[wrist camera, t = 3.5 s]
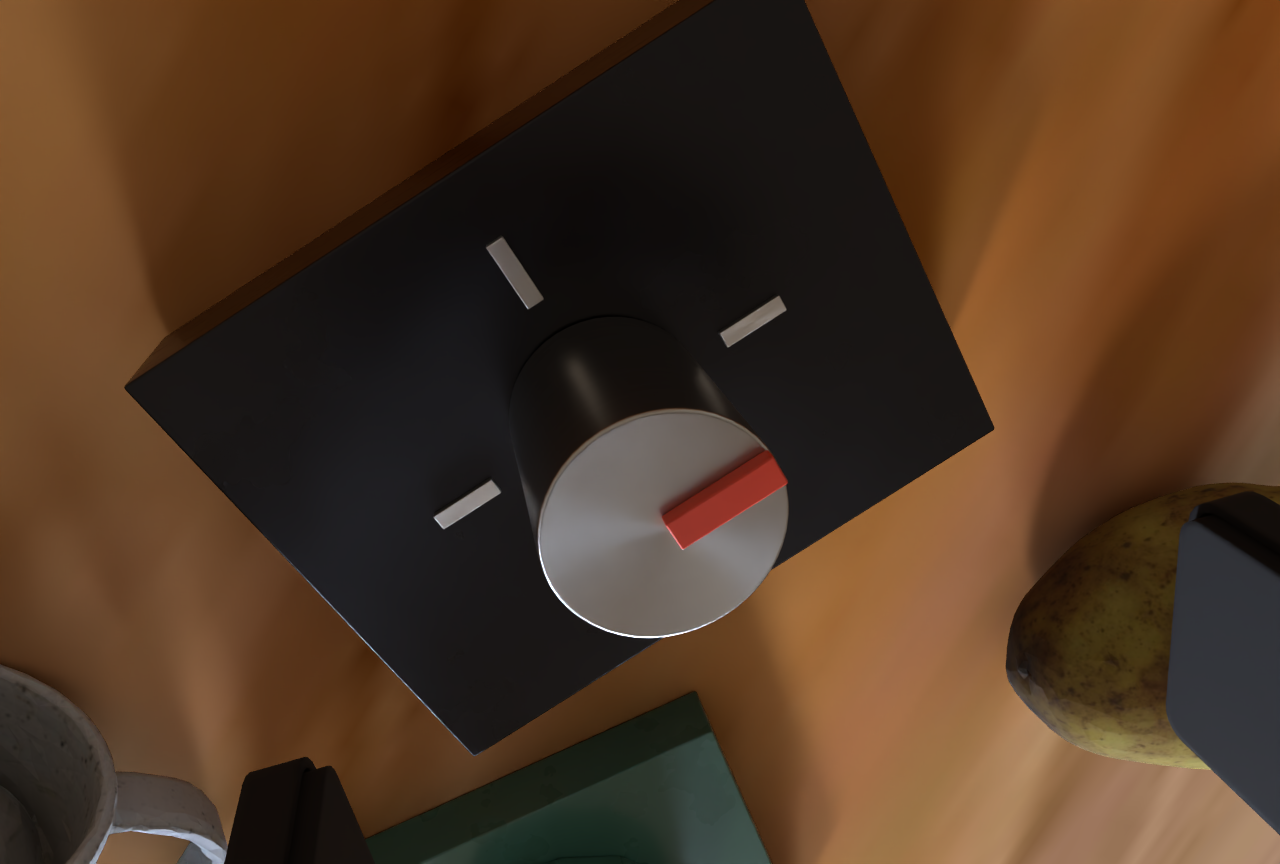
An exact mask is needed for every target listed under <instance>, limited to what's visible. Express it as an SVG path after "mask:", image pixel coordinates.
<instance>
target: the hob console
mask: <svg viewBox="0 0 1280 864" xmlns="http://www.w3.org/2000/svg"><path fill="white" fill-rule="evenodd" d="M602 317H626V318H634V319H638V320H641V321H645V322H648V323H650V324H653V325H655V326H657V327H659V328H661V329H663V330H664V331H666V332H668V333H669V334H671V335H672V336H673V337H674V338H676V339H677V340H678V341H679V342H680V343H681V344H682V345H683V346H684V347H685V348H686V349H687V351H688V352H689V353H690V354H691V355H692V357H693V358H694V359H695V360H696V361H697V363H698V364H699V365H700V366H701V367H702V369H703V370H704V371H705V372H706V373H707V375H708V376H709V377H710V378H711V379H712V381H713V382H714V383H715V384H716V385H717V387H718V388H719V389H720V390H721V391H722V393H723V394H724V395H725V396H726V397H727V399H728V400H729V401H730V402H731V403H732V405H733V406H734V407H735V408H736V409H737V411H738V412H739V413H740V414H741V415H742V417H743V418H744V419H745V420H746V422H747V423H748V424H749V425H750V426H751V428H752V429H753V430H754V431H755V432H756V434H757V435H758V436H759V437H760V438H761V440H762V441H763V442H764V443H765V444H766V446H767V447H768V448H769V450H770V451H771V453H772V454H773V455H774V457H775V458H776V460H777V462H778V464H779V466H780V468H781V470H782V472H783V473H784V475H785V477H786V479H787V480H788V483H787V484H786V487H787V493H788V501H789V516H788V524H787V531H786V535H785V538H784V542H783V545H782V548H781V550H780V553H779V555H778V558H777V560H776V561H775V563H774V565H773V567H772V569H773V568H775V567H777V566H778V565H780V564H781V563H783V562H785V561H786V560H788V559H789V558H791V557H793V556H794V555H796V554H797V553H799V552H800V551H802V550H804V549H805V548H807V547H808V546H810V545H812V544H813V543H815V542H816V541H818V540H820V539H821V538H823V537H824V536H826V535H827V534H829V533H831V532H832V531H834V530H835V529H837V528H839V527H840V526H842V525H843V524H845V523H847V522H848V521H850V520H851V519H853V518H854V517H856V516H858V515H859V514H861V513H862V512H864V511H866V510H867V509H869V508H870V507H872V506H874V505H875V504H877V503H878V502H880V501H881V500H883V499H885V498H886V497H888V496H889V495H891V494H893V493H894V492H896V491H897V490H899V489H901V488H902V487H904V486H905V485H907V484H908V483H910V482H912V481H913V480H915V479H916V478H918V477H920V476H921V475H923V474H924V473H926V472H928V471H929V470H931V469H932V468H934V467H935V466H937V465H939V464H940V463H942V462H943V461H945V460H947V459H948V458H950V457H951V456H953V455H955V454H956V453H958V452H959V451H961V450H962V449H964V448H966V447H967V446H969V445H970V444H972V443H974V442H975V441H977V440H978V439H980V438H982V437H983V436H985V435H986V434H988V433H989V432H991V431H993V430H994V426H993V423H992V421H991V419H990V417H989V414H988V412H987V410H986V408H985V405H984V403H983V401H982V399H981V396H980V394H979V392H978V390H977V387H976V385H975V383H974V381H973V378H972V376H971V374H970V372H969V369H968V367H967V365H966V363H965V360H964V358H963V356H962V354H961V351H960V349H959V347H958V345H957V342H956V340H955V338H954V336H953V333H952V331H951V329H950V327H949V324H948V322H947V320H946V318H945V315H944V313H943V311H942V309H941V306H940V304H939V302H938V300H937V297H936V295H935V293H934V291H933V288H932V286H931V284H930V282H929V279H928V277H927V275H926V273H925V270H924V268H923V266H922V264H921V261H920V259H919V257H918V255H917V252H916V250H915V248H914V246H913V244H912V241H911V239H910V237H909V235H908V232H907V230H906V228H905V226H904V223H903V221H902V219H901V217H900V214H899V212H898V210H897V208H896V205H895V203H894V201H893V199H892V196H891V194H890V192H889V190H888V187H887V185H886V183H885V181H884V178H883V176H882V174H881V172H880V169H879V167H878V165H877V163H876V160H875V158H874V156H873V154H872V151H871V149H870V147H869V145H868V142H867V140H866V138H865V136H864V133H863V131H862V129H861V127H860V124H859V122H858V120H857V118H856V115H855V113H854V111H853V109H852V106H851V104H850V102H849V100H848V97H847V95H846V93H845V91H844V88H843V86H842V84H841V82H840V79H839V77H838V75H837V73H836V70H835V68H834V66H833V64H832V61H831V59H830V57H829V55H828V52H827V50H826V48H825V46H824V43H823V41H822V39H821V37H820V34H819V32H818V30H817V28H816V25H815V23H814V21H813V19H812V16H811V14H810V12H809V10H808V8H807V5H806V3H805V1H804V0H679V1H678V2H676V3H674V4H673V5H671V6H670V7H668V8H667V9H665V10H664V11H662V12H661V13H659V14H658V15H656V16H655V17H653V18H652V19H650V20H649V21H647V22H645V23H644V24H642V25H641V26H639V27H638V28H636V29H635V30H633V31H632V32H630V33H629V34H627V35H626V36H624V37H623V38H621V39H620V40H618V41H616V42H615V43H613V44H612V45H610V46H609V47H607V48H606V49H604V50H603V51H601V52H600V53H598V54H597V55H595V56H594V57H592V58H591V59H589V60H587V61H586V62H584V63H583V64H581V65H580V66H578V67H577V68H575V69H574V70H572V71H571V72H569V73H568V74H566V75H565V76H563V77H562V78H560V79H559V80H557V81H555V82H554V83H552V84H551V85H549V86H548V87H546V88H545V89H543V90H542V91H540V92H539V93H537V94H536V95H534V96H533V97H531V98H530V99H528V100H526V101H525V102H523V103H522V104H520V105H519V106H517V107H516V108H514V109H513V110H511V111H510V112H508V113H507V114H505V115H504V116H502V117H501V118H499V119H497V120H496V121H494V122H493V123H491V124H490V125H488V126H487V127H485V128H484V129H482V130H481V131H479V132H478V133H476V134H475V135H473V136H472V137H470V138H468V139H467V140H465V141H464V142H462V143H461V144H459V145H458V146H456V147H455V148H453V149H452V150H450V151H449V152H447V153H446V154H444V155H443V156H441V157H440V158H438V159H436V160H435V161H433V162H432V163H430V164H429V165H427V166H426V167H424V168H423V169H421V170H420V171H418V172H417V173H415V174H414V175H412V176H411V177H409V178H407V179H406V180H404V181H403V182H401V183H400V184H398V185H397V186H395V187H394V188H392V189H391V190H389V191H388V192H386V193H385V194H383V195H382V196H380V197H378V198H377V199H375V200H374V201H372V202H371V203H369V204H368V205H366V206H365V207H363V208H362V209H360V210H359V211H357V212H356V213H354V214H353V215H351V216H349V217H348V218H346V219H345V220H343V221H342V222H340V223H339V224H337V225H336V226H334V227H333V228H331V229H330V230H328V231H327V232H325V233H324V234H322V235H321V236H319V237H317V238H316V239H314V240H313V241H311V242H310V243H308V244H307V245H305V246H304V247H302V248H301V249H299V250H298V251H296V252H295V253H293V254H292V255H290V256H288V257H287V258H285V259H284V260H282V261H281V262H279V263H278V264H276V265H275V266H273V267H272V268H270V269H269V270H267V271H266V272H264V273H263V274H261V275H259V276H258V277H256V278H255V279H253V280H252V281H250V282H249V283H247V284H246V285H244V286H243V287H241V288H240V289H238V290H237V291H235V292H234V293H232V294H230V295H229V296H227V297H226V298H224V299H223V300H221V301H220V302H218V303H217V304H215V305H214V306H212V307H211V308H209V309H208V310H206V311H205V312H203V313H202V314H200V315H198V316H197V317H195V318H194V319H192V320H191V321H189V322H188V323H186V324H185V325H183V326H182V327H180V328H179V329H177V330H176V331H174V332H173V333H171V334H169V335H168V336H166V337H165V338H164V339H163V340H162V341H161V342H160V344H159V345H158V346H157V347H156V349H155V350H154V351H153V352H152V353H151V355H150V356H149V357H148V358H147V359H146V361H145V362H144V363H143V364H142V366H141V367H140V368H139V369H138V370H137V372H136V373H135V374H134V375H133V376H132V378H131V379H130V380H129V381H128V383H127V384H126V385H125V387H124V388H125V390H126V391H127V392H128V393H129V394H130V395H131V396H132V397H133V398H134V399H135V400H136V401H137V403H138V404H139V405H140V406H141V407H142V408H143V409H144V410H145V411H146V412H147V413H148V414H149V415H150V416H151V417H152V418H153V419H154V420H155V421H156V423H157V424H158V425H159V426H160V427H161V428H162V429H163V430H164V431H165V432H166V433H167V434H168V435H169V436H170V437H171V438H172V439H173V440H174V441H175V443H176V444H177V445H178V446H179V447H180V448H181V449H182V450H183V451H184V452H185V453H186V454H187V455H188V456H189V457H190V458H191V459H192V460H193V461H194V463H195V464H196V465H197V466H198V467H199V468H200V469H201V470H202V471H203V472H204V473H205V474H206V475H207V476H208V477H209V478H210V479H211V480H212V481H213V483H214V484H215V485H216V486H217V487H218V488H219V489H220V490H221V491H222V492H223V493H224V494H225V495H226V496H227V497H228V498H229V499H230V500H231V502H232V503H233V504H234V505H235V506H236V507H237V508H238V509H239V510H240V511H241V512H242V513H243V514H244V515H245V516H246V517H247V518H248V519H249V520H250V522H251V523H252V524H253V525H254V526H255V527H256V528H257V529H258V530H259V531H260V532H261V533H262V534H263V535H264V536H265V537H266V538H267V539H268V540H269V542H270V543H271V544H272V545H273V546H274V547H275V548H276V549H277V550H278V551H279V552H280V553H281V554H282V555H283V556H284V557H285V558H286V559H287V560H288V562H289V563H290V564H291V565H292V566H293V567H294V568H295V569H296V570H297V571H298V572H299V573H300V574H301V575H302V576H303V577H304V578H305V579H306V580H307V582H308V583H309V584H310V585H311V586H312V587H313V588H314V589H315V590H316V591H317V592H318V593H319V594H320V595H321V596H322V597H323V598H324V599H325V600H326V602H327V603H328V604H329V605H330V606H331V607H332V608H333V609H334V610H335V611H336V612H337V613H338V614H339V615H340V616H341V617H342V618H343V619H344V620H345V622H346V623H347V624H348V625H349V626H350V627H351V628H352V629H353V630H354V631H355V632H356V633H357V634H358V635H359V636H360V637H361V638H362V639H363V641H364V642H365V643H366V644H367V645H368V646H369V647H370V648H371V649H372V650H373V651H374V652H375V653H376V654H377V655H378V656H379V657H380V658H381V659H382V661H383V662H384V663H385V664H386V665H387V666H388V667H389V668H390V669H391V670H392V671H393V672H394V673H395V674H396V675H397V676H398V677H399V678H400V679H401V681H402V682H403V683H404V684H405V685H406V686H407V687H408V688H409V689H410V690H411V691H412V692H413V693H414V694H415V695H416V696H417V697H418V698H419V699H420V701H421V702H422V703H423V704H424V705H425V706H426V707H427V708H428V709H429V710H430V711H431V712H432V713H433V714H434V715H435V716H436V717H437V718H438V719H439V721H440V722H441V723H442V724H443V725H444V726H445V727H446V728H447V729H448V730H449V731H450V732H451V733H452V734H453V735H454V736H455V737H456V738H457V739H458V741H459V742H460V743H461V744H462V745H463V746H464V747H465V748H466V749H467V750H468V751H469V752H470V753H471V754H472V755H473V756H476V755H478V754H480V753H481V752H483V751H484V750H486V749H488V748H489V747H491V746H492V745H494V744H496V743H497V742H499V741H500V740H502V739H503V738H505V737H507V736H508V735H510V734H511V733H513V732H515V731H516V730H518V729H519V728H521V727H523V726H524V725H526V724H527V723H529V722H530V721H532V720H534V719H535V718H537V717H538V716H540V715H542V714H543V713H545V712H546V711H548V710H550V709H551V708H553V707H554V706H556V705H557V704H559V703H561V702H562V701H564V700H565V699H567V698H569V697H570V696H572V695H573V694H575V693H577V692H578V691H580V690H581V689H583V688H584V687H586V686H588V685H589V684H591V683H592V682H594V681H596V680H597V679H599V678H600V677H602V676H604V675H605V674H607V673H608V672H610V671H611V670H613V669H615V668H616V667H618V666H619V665H621V664H623V663H624V662H626V661H627V660H629V659H631V658H632V657H634V656H635V655H637V654H638V653H640V652H642V651H643V650H645V649H646V648H648V647H650V646H651V645H653V644H654V643H656V642H658V641H659V640H661V639H662V638H664V637H658V638H636V637H629V636H623V635H618V634H615V633H611V632H608V631H605V630H602V629H600V628H598V627H595V626H593V625H591V624H589V623H588V622H586V621H584V620H583V619H581V618H580V617H578V616H577V615H576V614H574V613H573V612H572V611H571V610H569V609H568V608H567V607H566V606H565V605H564V604H563V603H562V602H561V601H560V599H559V598H558V597H557V596H556V594H555V593H554V591H553V590H552V589H551V587H550V586H549V584H548V582H547V580H546V577H545V575H544V573H543V571H542V567H541V564H540V561H539V557H538V553H537V548H536V544H535V539H534V535H533V531H532V526H531V522H530V517H529V513H528V508H527V504H526V499H525V495H524V491H523V486H522V482H521V477H520V473H519V468H518V464H517V460H516V455H515V451H514V446H513V442H512V437H511V432H510V425H509V407H510V400H511V395H512V392H513V388H514V385H515V383H516V380H517V378H518V376H519V374H520V372H521V370H522V369H523V367H524V365H525V364H526V362H527V361H528V360H529V358H530V357H531V356H532V355H533V353H534V352H535V351H536V350H537V349H538V348H539V347H540V346H541V345H542V344H543V343H544V342H546V341H547V340H548V339H550V338H551V337H552V336H554V335H555V334H557V333H558V332H560V331H562V330H564V329H566V328H567V327H570V326H572V325H575V324H577V323H579V322H583V321H586V320H590V319H594V318H602ZM772 569H771V570H772Z"/></svg>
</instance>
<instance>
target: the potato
mask: <svg viewBox="0 0 1280 864" xmlns="http://www.w3.org/2000/svg"><path fill="white" fill-rule="evenodd" d="M1244 491H1253V492H1256V493H1259V494H1261V495H1264V496H1265V497H1267V498H1269V499H1271V500H1272V501H1274V502H1276V503H1278V504H1279V505H1280V486H1265V485H1256V484H1247V483H1217V484H1207V485H1201V486H1196V487H1192V488H1188V489H1185V490H1181V491H1178V492H1175V493H1171V494H1168V495H1165V496H1161V497H1159V498H1156V499H1153V500H1151V501H1148V502H1146V503H1143V504H1140V505H1138V506H1135V507H1133V508H1131V509H1128V510H1126V511H1124V512H1122V513H1120V514H1118V515H1116V516H1115V517H1113V518H1111V519H1110V520H1108V521H1107V522H1105V523H1104V524H1102V525H1101V526H1099V527H1098V528H1096V529H1095V530H1093V531H1092V532H1090V533H1089V534H1087V535H1086V536H1084V537H1083V538H1081V539H1080V540H1079V541H1078V542H1077V543H1076V544H1075V545H1073V546H1072V547H1071V548H1070V549H1069V550H1068V551H1067V552H1066V553H1065V554H1064V555H1063V556H1062V557H1061V558H1060V559H1059V560H1058V561H1057V562H1056V563H1055V564H1054V565H1053V566H1052V567H1051V568H1050V569H1049V570H1048V571H1047V572H1046V573H1045V574H1044V575H1043V576H1042V578H1041V579H1040V580H1039V581H1038V582H1037V583H1036V584H1035V585H1034V586H1033V588H1032V589H1031V590H1030V591H1029V592H1028V593H1027V594H1026V595H1025V597H1024V598H1023V600H1022V601H1021V603H1020V605H1019V607H1018V609H1017V611H1016V613H1015V615H1014V618H1013V621H1012V625H1011V628H1010V633H1009V639H1008V645H1007V658H1006V671H1007V677H1008V680H1009V682H1010V684H1011V686H1012V687H1013V689H1014V691H1015V692H1016V693H1017V695H1018V696H1019V697H1020V698H1021V699H1022V701H1023V702H1024V703H1025V704H1026V705H1027V706H1028V708H1029V709H1030V710H1031V711H1033V712H1034V713H1035V714H1036V715H1037V716H1038V717H1039V718H1040V719H1041V720H1042V721H1043V722H1044V723H1045V724H1046V725H1047V726H1048V727H1049V728H1050V729H1051V730H1053V731H1054V732H1055V733H1057V734H1058V735H1059V736H1061V737H1062V738H1063V739H1064V740H1066V741H1068V742H1070V743H1071V744H1073V745H1075V746H1078V747H1080V748H1082V749H1084V750H1087V751H1090V752H1093V753H1096V754H1099V755H1102V756H1106V757H1110V758H1115V759H1122V760H1129V761H1135V762H1142V763H1148V764H1156V765H1164V766H1173V767H1181V768H1192V769H1210V768H1209V767H1208V766H1207V765H1206V764H1205V763H1204V762H1203V761H1202V760H1201V759H1200V758H1199V757H1198V756H1197V755H1196V754H1195V753H1194V752H1193V751H1191V750H1190V749H1189V748H1188V747H1187V746H1186V745H1185V744H1184V743H1183V742H1182V741H1181V740H1180V739H1179V737H1178V736H1177V735H1176V733H1175V732H1174V730H1173V729H1172V727H1171V725H1170V722H1169V720H1168V717H1167V713H1166V695H1167V683H1168V670H1169V658H1170V645H1171V633H1172V620H1173V608H1174V595H1175V583H1176V571H1177V558H1178V546H1179V534H1180V530H1181V527H1182V526H1183V525H1184V523H1186V522H1188V520H1189V516H1190V513H1191V512H1192V510H1193V509H1194V507H1196V506H1198V505H1200V504H1202V503H1205V502H1209V501H1212V500H1216V499H1220V498H1223V497H1227V496H1230V495H1234V494H1237V493H1241V492H1244ZM1210 770H1211V769H1210Z"/></svg>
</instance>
